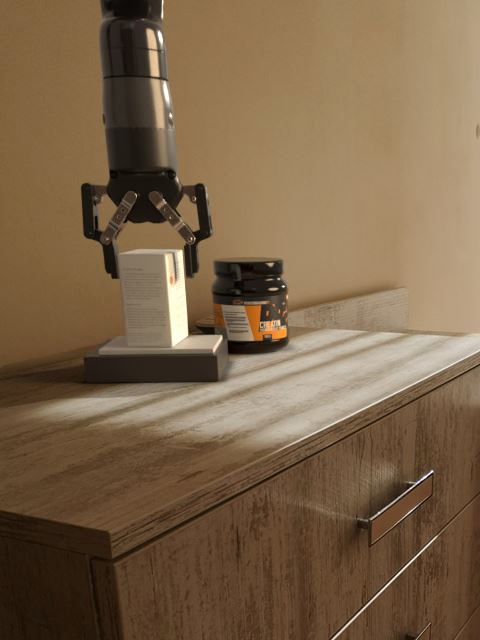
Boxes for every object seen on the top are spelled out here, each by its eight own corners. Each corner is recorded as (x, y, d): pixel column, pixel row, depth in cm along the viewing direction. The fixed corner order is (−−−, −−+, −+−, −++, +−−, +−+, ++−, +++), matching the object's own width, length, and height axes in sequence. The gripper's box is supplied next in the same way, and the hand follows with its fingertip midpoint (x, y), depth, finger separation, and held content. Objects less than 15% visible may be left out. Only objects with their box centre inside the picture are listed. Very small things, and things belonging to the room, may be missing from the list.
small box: (145, 336, 102) (137, 248, 99) (189, 336, 102) (183, 248, 99) (125, 347, 95) (115, 252, 91) (173, 347, 95) (165, 253, 91)
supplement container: (230, 357, 109) (225, 263, 105) (204, 345, 117) (198, 258, 113) (302, 350, 114) (300, 260, 110) (272, 339, 122) (269, 255, 118)
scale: (84, 383, 94) (80, 351, 92) (108, 363, 105) (105, 334, 104) (218, 381, 95) (216, 350, 94) (228, 361, 106) (226, 333, 105)
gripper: (209, 129, 94) (218, 275, 100) (82, 128, 93) (99, 275, 99) (201, 124, 87) (211, 281, 93) (64, 123, 86) (82, 281, 92)
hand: (153, 278), depth 96 cm, fingers open, 8 cm apart
